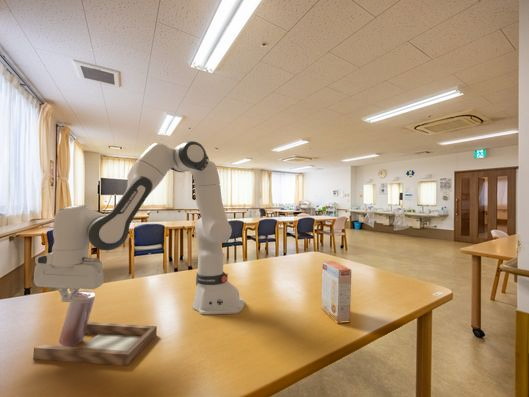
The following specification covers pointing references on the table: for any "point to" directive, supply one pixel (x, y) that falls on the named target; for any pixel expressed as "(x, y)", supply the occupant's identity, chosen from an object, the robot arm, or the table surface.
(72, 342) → the beverage can
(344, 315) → the cracker box
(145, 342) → the tray
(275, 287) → the table surface
